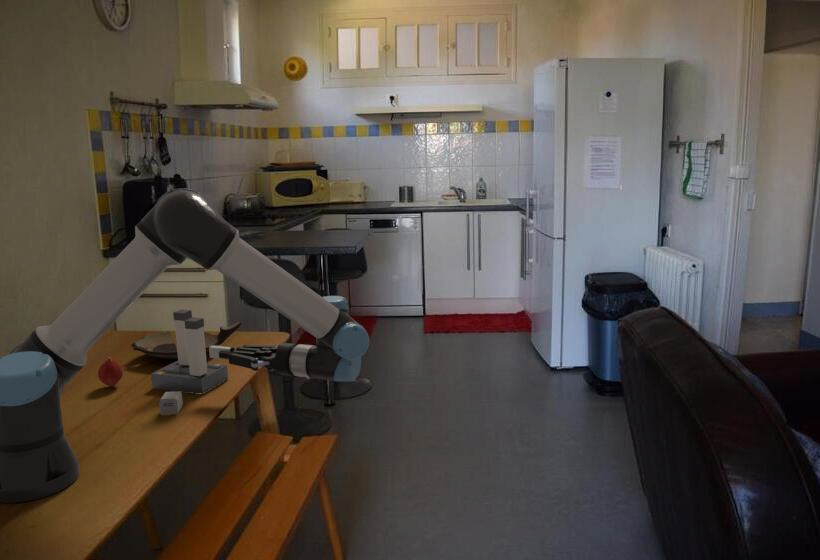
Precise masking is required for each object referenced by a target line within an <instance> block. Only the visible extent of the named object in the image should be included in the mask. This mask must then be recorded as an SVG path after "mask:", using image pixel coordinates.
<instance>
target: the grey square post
mask: <svg viewBox="0 0 820 560" xmlns="http://www.w3.org/2000/svg"><path fill="white" fill-rule="evenodd" d="M204 319H205V318H204V317H195V316H194V317H193V316H192V318H190V319H187V320H185V329H186V336H187V347H188V359H189V370H190V375H195V376H201V375H203V374H205V373H207V361H208V360H207V352H206V349H205V337H204V332H205V320H204Z"/></svg>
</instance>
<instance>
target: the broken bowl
mask: <svg viewBox="0 0 820 560" xmlns="http://www.w3.org/2000/svg"><path fill="white" fill-rule="evenodd" d="M241 326H242V322H241V321H238V322H236V323H234V324H233V325H230V326H222V325H221V326H219V332H218V334H212V333H209V332H206V331H204V337H205V349H206V353H207V352H209V347H210V346H212V345H213V346H222V344H223V343H225V341H226V340H227V339H229V337H230V336H232V335H233V334H234V333H235V332H236V331H237V330H238V329H239V328H240V327H241ZM130 346H131V347H132V350H133V351H137V352H141V353H143V354H146V355H148V356H152V357H156V358H161V359H167V360H178V353H177V344H176V343H175V341H174V338H173V337H172V333H171V332H169V331H163V332H156V333H151V334H148V335H145V336H143V337H141V338H139V339H137V340H135V342H133V343H130Z"/></svg>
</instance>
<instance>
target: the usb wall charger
mask: <svg viewBox="0 0 820 560" xmlns="http://www.w3.org/2000/svg"><path fill="white" fill-rule="evenodd" d="M158 402H159V413H160V414H161V415H162V416H168V415H167V414H176V415H178V414H179V412H180V410H181V409H182V408H183V392H179V391H177V392H176V391H165V392H164V393H163V395H162V396H161V397H160V399H159V401H158Z"/></svg>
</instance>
